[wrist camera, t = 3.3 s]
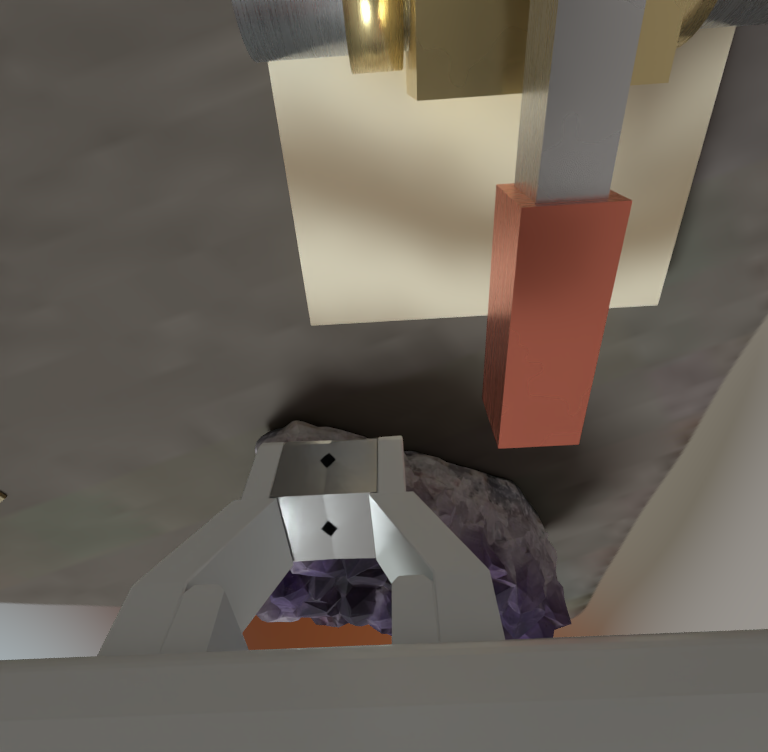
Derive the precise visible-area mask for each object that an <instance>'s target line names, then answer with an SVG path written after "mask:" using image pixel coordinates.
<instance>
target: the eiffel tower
mask: <svg viewBox="0 0 768 752" xmlns="http://www.w3.org/2000/svg"><path fill="white" fill-rule="evenodd" d="M6 497H7V496H6V495H5V494H3V493H1V492H0V502H1V501H2V500H4V499H5V498H6Z"/></svg>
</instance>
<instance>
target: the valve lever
mask: <svg viewBox="0 0 768 752" xmlns="http://www.w3.org/2000/svg"><path fill="white" fill-rule="evenodd" d="M645 5H646V0H530V7H529V18H528V30H527V42H526V53H525V65H524V77H523V88H522V100H521V112H520V123H519V135H518V147H517V158H516V170H515V182H514V183H509V184H496V196H495V211H494V227H493V242H492V257H491V272H490V288H489V303H488V318H487V333H486V348H485V364H484V379H483V394H482V399H483V402H484V405H485V408H486V412H487V415H488V418H489V421H490V424H491V427H492V431H493V434H494V437H495V440H496V443H497V446H498V449H501V448H521V447H540V446H560V445H579V441H580V437H581V432H582V428H583V423H584V419H585V414H586V410H587V405H588V401H589V396H590V391H591V387H592V382H593V378H594V373H595V369H596V364H597V360H598V355H599V351H600V346H601V342H602V337H603V332H604V328H605V323H606V319H607V314H608V310H609V305H610V301H611V296H612V292H613V287H614V282H615V278H616V273H617V269H618V264H619V260H620V255H621V251H622V246H623V242H624V237H625V233H626V228H627V223H628V219H629V214H630V210H631V205H632V201H633V200H630V199H628V198H626V197H624V196H622V195H620V194H618V193H616V192H614V191H612V190H610V187H611V182H612V176H613V171H614V166H615V161H616V156H617V150H618V145H619V140H620V135H621V130H622V124H623V119H624V114H625V109H626V104H627V98H628V93H629V88H630V83H631V78H632V72H633V67H634V62H635V57H636V52H637V46H638V41H639V36H640V31H641V26H642V20H643V15H644V10H645Z"/></svg>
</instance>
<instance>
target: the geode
mask: <svg viewBox="0 0 768 752" xmlns="http://www.w3.org/2000/svg"><path fill="white" fill-rule="evenodd" d="M349 439H366V437H364V436H360V435H356V434H353V433H350V432H347V431H343V430H339V429H335V428H331V427H316V426H314V425H311V424H308V423H306V422H303V421H297V420H296V421H292V422H291V423H289V424H288V425H286V426H285V427H284V428H280V429H276V430H273V431H270V432H268V433H266V434H265V435H263V436H262V437H261V438H260V439H259V440H258V441H257V443H256V447H255V453H257V450H258V448H259V446H260V445H261V444H262V443H274V442H295V441H328V440H349ZM404 466H405V482H406V492H411V491H413V492H414V493H415V494H416V495H417V496H418V497H419V498H420V499H421V500H422V501H423V502H424V503H425V504H426V505H427V506H428V507H429V508H430V509H431V510H432V511H433V512H434V513H435V514H436V515H437V516H438V517H439V518H440V520H441V521H442V522H443V523H444V524H445V525H446V526H447V527H448V528H449V529H450V530H451V531H452V532H453V533H454V534H455V535H456V536H457V537H458V538H459V539H460V540H461V541H462V542H463V543H464V544H465V545H466V546H467V547H468V548H469V549H470V551H471V552H472V553H473V554H474V555H475V556H476V557H477V558H478V559H479V560H480V561H481V562H482V563H483V564H484V565H485V566H486V567H487V568H488V569H489V570H490V574H491V579H492V583H493V588H494V592H495V596H496V601H497V605H498V610H499V614H500V619H501V623H502V627H503V632H504V636H505V640H511V639H535V638H553V634H554V630H555V629H558V628H561V627H564V626H566V625H569V624H571V621H570V617H569V614H568V611H567V607H566V604H565V600H564V591H563V586H562V585H561V584H560V583H559V582H558V581H557V576H556V562H557V553H556V550H555V548H554V547H553V546H552V544H551V543H550V542H549V541H548V539H547V538H548V533H547V532H546V531H545V529H544V527H543V524H542V523H541V521H540V518H539V515H538V514H537V512H536V511H535V510H534V509H533V507H532V506H531V505H530V503H529V502H528V501H527V499H526V498H525V497H524V495H523V494H522V492H521V490H520V488H519V487H518V486H517V485H516V484H515V483H514V482H513V481H510V480H507V479H503V478H499V477H495V476H491V475H489V474H486V473H483V472H480V471H476V470H473V469H470V468H466V467H462V466H458V465H455V464H452V463H448V462H445V461H443V460H442V459H440V458H438V457H434V456H429V455H425V454H422V453H419V452H416V451H404ZM293 564H294V565H293V566H292V567H291V569H290V570H289V571H288V573H287V574H286V575H285V577H284V578H283V579H282V581H281V582H280V583H279V584H278V586H277V587H276V588H275V590H274V591H273V592H272V594H271V595H270V596H269V598H268V599H267V600H266V602H265V603H264V604H263V606H262V607H261V608H260V610H259V611H258V612H257V614H256V615H257V616H258V617H259V618H260V619H261V620H263V621H266V622H279V621H281V622H292V621H297V620H299V619H300V618H301V617H311V619H312V620H313V621H314V622H315V624H317V625H327V626H333V627H340V626H343V625H345V624H347V623H350V624H353V625H355V626H364V625H367V624H369V625H370V626H372V627H373V628H374V629H376V630H377V631H379V632H380V633H382V634H389V635H391V636H392V584H391V582H390V580H389V579H388V577H387V576H386V574H385V573H384V571H383V569H382V568H381V566H380V565H379V563H378V562H377V560H376V558H356V559H326V560H313V561H299V562H293Z"/></svg>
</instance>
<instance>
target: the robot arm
mask: <svg viewBox="0 0 768 752" xmlns="http://www.w3.org/2000/svg"><path fill="white" fill-rule="evenodd" d="M356 558H376V560H377V562H378V563H379V565H380V566H381V568H382V569H383V571H384V573H385V574H386V576H387V577H388V579H389V580H390V582H391V584H392V645H370V646H369V645H368V646H345V647H323V648H322V647H321V648H298V649H297V648H296V649H270V650H248V647H247V645H246V642H245V640H244V637H243V635H242V632H243V631H244V629H245V628H246V627H247V626H248V624H249V623H250V622H251V620H252V619H253V618H254V616H255V615H256V614H257V612H258V611H259V610H260V608H261V607H262V606H263V604H264V603H265V602H266V600H267V599H268V598H269V596H270V595H271V594H272V592H273V591H274V590H275V588H276V587H277V586H278V584H279V583H280V582H281V581H282V579H283V578H284V577H285V575H286V574H287V573H288V571H289V570H290V569H291V567H292V566H293V565H294V564H293V562H299V561H313V560H326V559H356ZM0 752H768V629H759V630H734V631H709V632H684V633H660V634H637V635H635V634H634V635H610V636H586V637H562V638H535V639H511V640H505V636H504V632H503V627H502V623H501V619H500V614H499V610H498V605H497V601H496V596H495V592H494V588H493V583H492V579H491V574H490V570H489V569H488V568H487V567H486V566H485V565H484V564H483V563H482V562H481V561H480V560H479V559H478V558H477V557H476V556H475V555H474V554H473V553H472V552H471V551H470V549H469V548H468V547H467V546H466V545H465V544H464V543H463V542H462V541H461V540H460V539H459V538H458V537H457V536H456V535H455V534H454V533H453V532H452V531H451V530H450V529H449V528H448V527H447V526H446V525H445V524H444V523H443V522H442V521H441V520H440V518H439V517H438V516H437V515H436V514H435V513H434V512H433V511H432V510H431V509H430V508H429V507H428V506H427V505H426V504H425V503H424V502H423V501H422V500H421V499H420V498H419V497H418V496H417V495H416V494H415V493H414V492H413V491H411V492H406V482H405V466H404V450H403V438H402V436H387V437H379V438H366V439H349V440H328V441H295V442H274V443H262V444H261V445H260V446H259V448H258V450H257V453H256V456H255V459H254V462H253V465H252V468H251V471H250V474H249V477H248V480H247V483H246V486H245V489H244V492H243V494H242V497H241V500H233V501H232V502H231V503H230V504H229V505H227V506H226V507H225V508H224V509H223V510H221V511H220V512H219V513H218V514H217V515H215V516H214V517H213V518H212V519H211V520H210V521H208V522H207V523H206V524H205V525H204V526H202V527H201V528H200V529H199V530H198V531H196V532H195V533H194V534H193V535H192V536H191V537H189V538H188V539H187V540H186V541H185V542H183V543H182V544H181V545H180V546H179V547H177V548H176V549H175V550H174V551H173V552H171V553H170V554H169V555H168V556H167V557H166V558H164V559H163V560H162V561H161V562H160V563H158V564H157V565H156V566H155V567H154V568H152V569H151V570H150V571H149V572H148V573H147V574H145V575H144V576H143V577H142V578H141V579H139V580H138V581H137V582H136V583H135V584H133V585H132V587H131V589H130V591H129V593H128V595H127V597H126V599H125V601H124V603H123V605H122V607H121V609H120V611H119V613H118V615H117V617H116V619H115V621H114V623H113V625H112V627H111V629H110V631H109V633H108V635H107V637H106V639H105V641H104V643H103V645H102V648H101V649H100V651H99V654H98V655H97V656H96V657H71V658H48V659H47V658H45V659H22V660H0Z"/></svg>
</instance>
